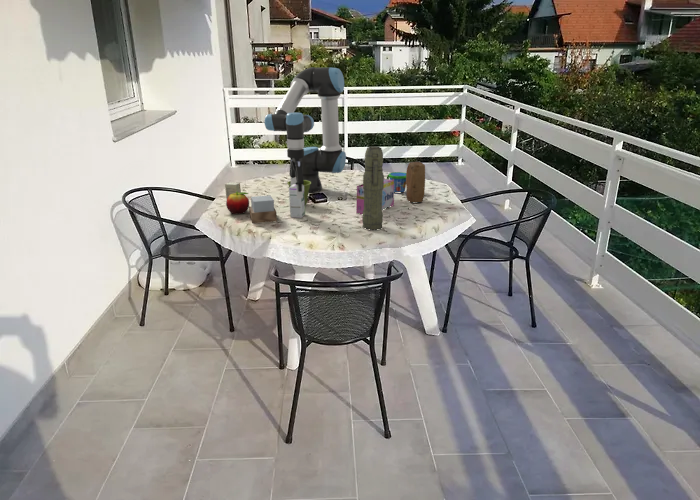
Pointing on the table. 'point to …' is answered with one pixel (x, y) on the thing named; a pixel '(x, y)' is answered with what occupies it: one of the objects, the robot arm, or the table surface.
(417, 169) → the block
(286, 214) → the table surface
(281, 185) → the table surface
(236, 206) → the fruit
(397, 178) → the snack cup
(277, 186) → the table surface
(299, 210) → the syrup box
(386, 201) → the gum box
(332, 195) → the table surface
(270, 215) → the base block
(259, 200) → the top block
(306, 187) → the plant pot
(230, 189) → the skincare box
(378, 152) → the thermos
